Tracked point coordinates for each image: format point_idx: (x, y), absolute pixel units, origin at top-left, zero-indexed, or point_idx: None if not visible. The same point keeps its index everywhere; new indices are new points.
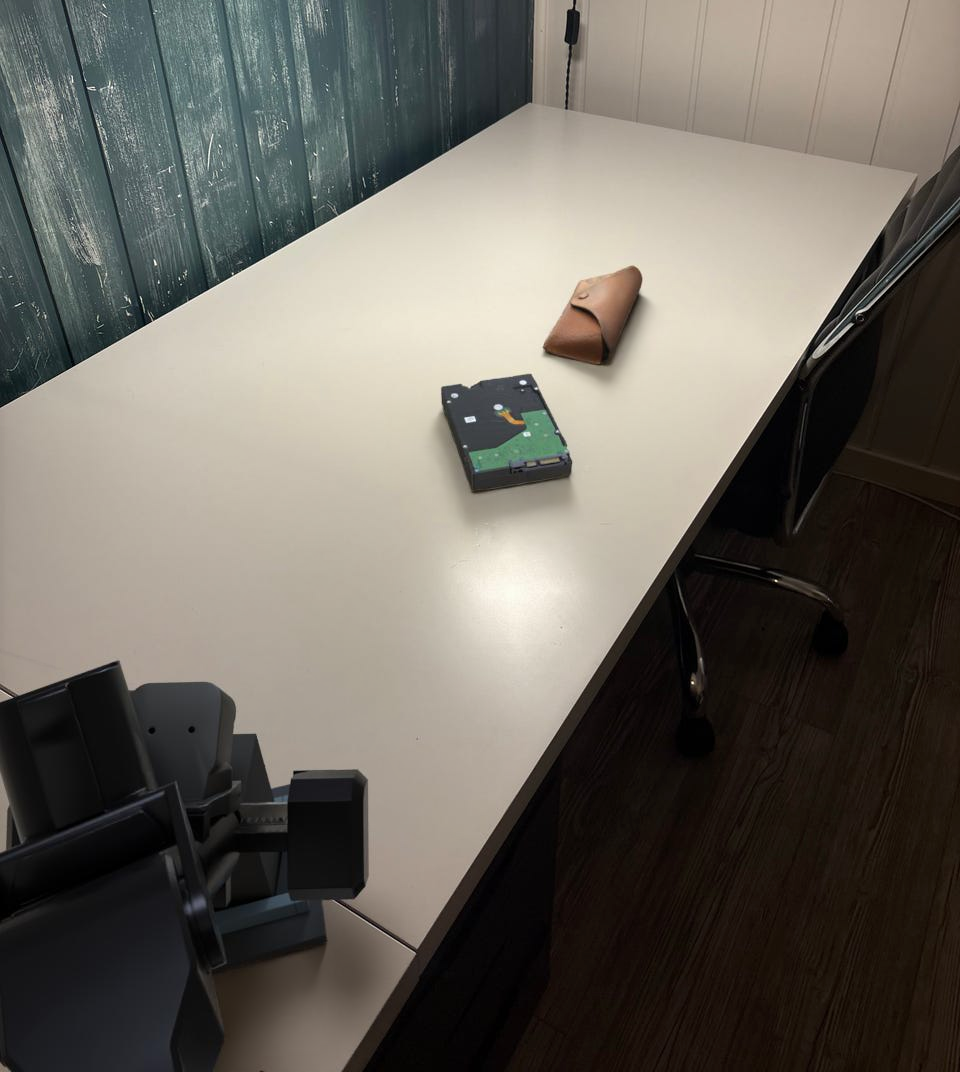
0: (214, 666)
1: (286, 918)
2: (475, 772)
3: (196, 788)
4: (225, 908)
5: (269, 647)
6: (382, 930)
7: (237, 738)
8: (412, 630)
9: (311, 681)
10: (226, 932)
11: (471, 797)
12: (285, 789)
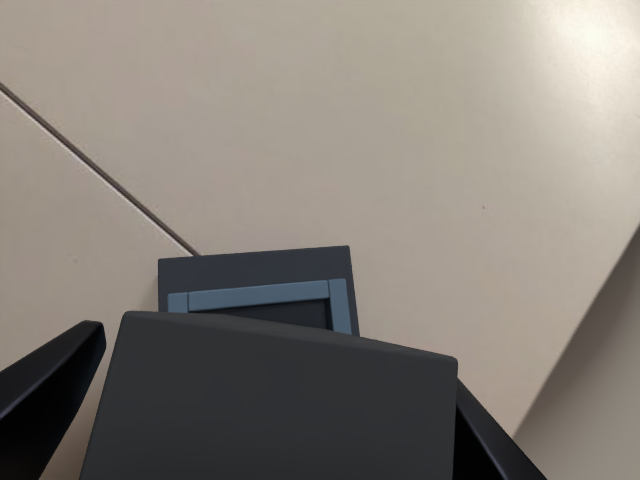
0: (219, 37)
1: None
2: (551, 268)
3: None
4: None
5: (296, 29)
6: None
7: (386, 377)
8: (478, 54)
9: (351, 93)
10: None
11: (546, 302)
12: (323, 254)
